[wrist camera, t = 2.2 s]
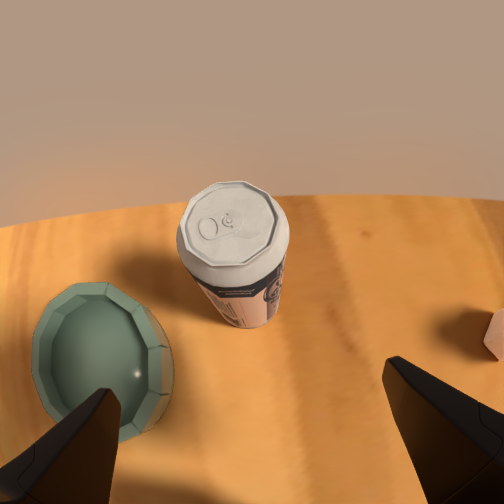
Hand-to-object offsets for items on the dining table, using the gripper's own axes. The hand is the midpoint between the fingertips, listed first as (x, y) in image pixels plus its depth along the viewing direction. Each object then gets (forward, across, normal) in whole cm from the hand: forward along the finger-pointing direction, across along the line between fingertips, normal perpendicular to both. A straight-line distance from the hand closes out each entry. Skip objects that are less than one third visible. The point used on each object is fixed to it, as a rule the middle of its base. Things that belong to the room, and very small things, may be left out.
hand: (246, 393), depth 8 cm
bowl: (+10, +13, +8) cm, 18 cm away
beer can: (+14, 0, +4) cm, 14 cm away
